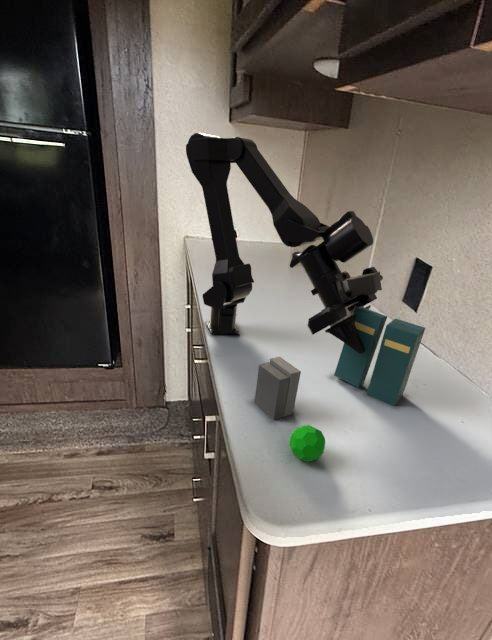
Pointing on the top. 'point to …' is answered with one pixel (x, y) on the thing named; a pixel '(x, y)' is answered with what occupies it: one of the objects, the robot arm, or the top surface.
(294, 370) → the grey books
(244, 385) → the top surface
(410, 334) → the teal books
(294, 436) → the polyhedron
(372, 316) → the teal book
